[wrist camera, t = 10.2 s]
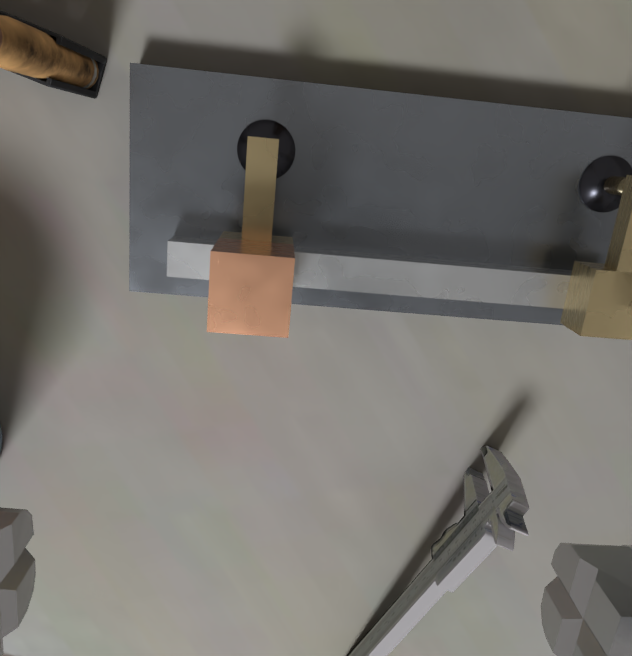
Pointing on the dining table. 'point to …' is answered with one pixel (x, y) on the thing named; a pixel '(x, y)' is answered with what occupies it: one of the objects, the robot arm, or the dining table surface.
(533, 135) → the bolt plate
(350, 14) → the dining table surface
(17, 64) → the ammunition clip
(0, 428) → the grey-teal cup
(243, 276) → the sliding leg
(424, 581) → the caliper
